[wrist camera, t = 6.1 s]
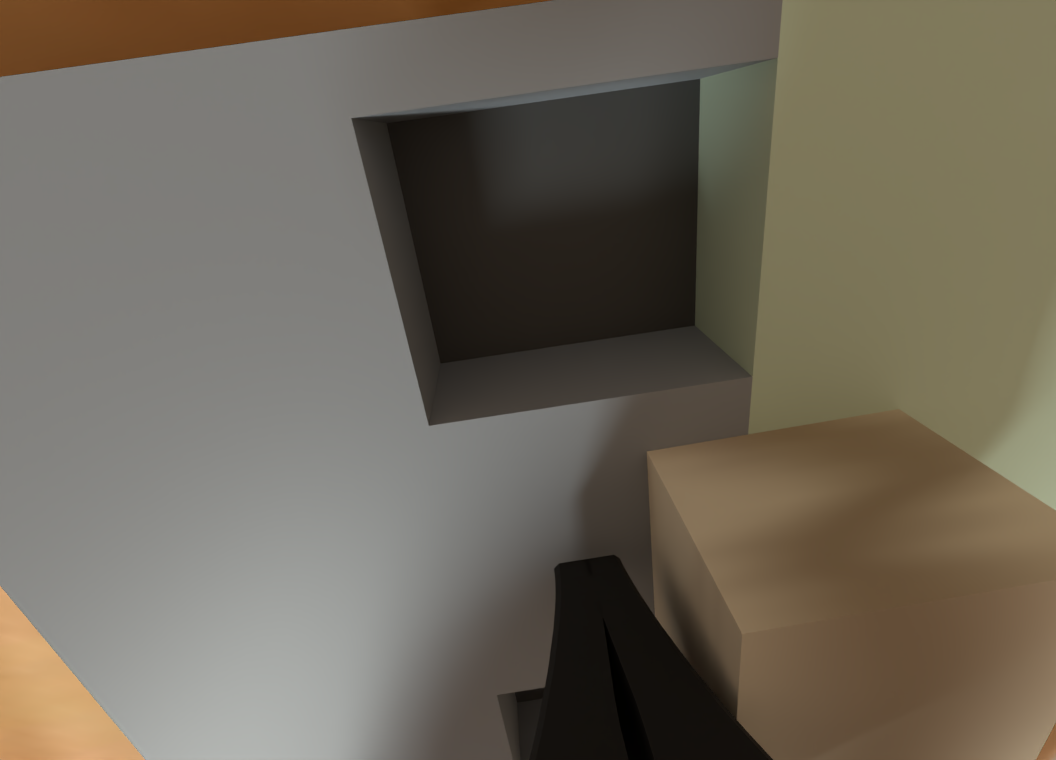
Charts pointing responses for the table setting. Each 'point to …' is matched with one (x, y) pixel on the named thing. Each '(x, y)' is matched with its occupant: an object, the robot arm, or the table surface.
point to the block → (859, 591)
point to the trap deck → (351, 364)
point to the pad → (891, 223)
